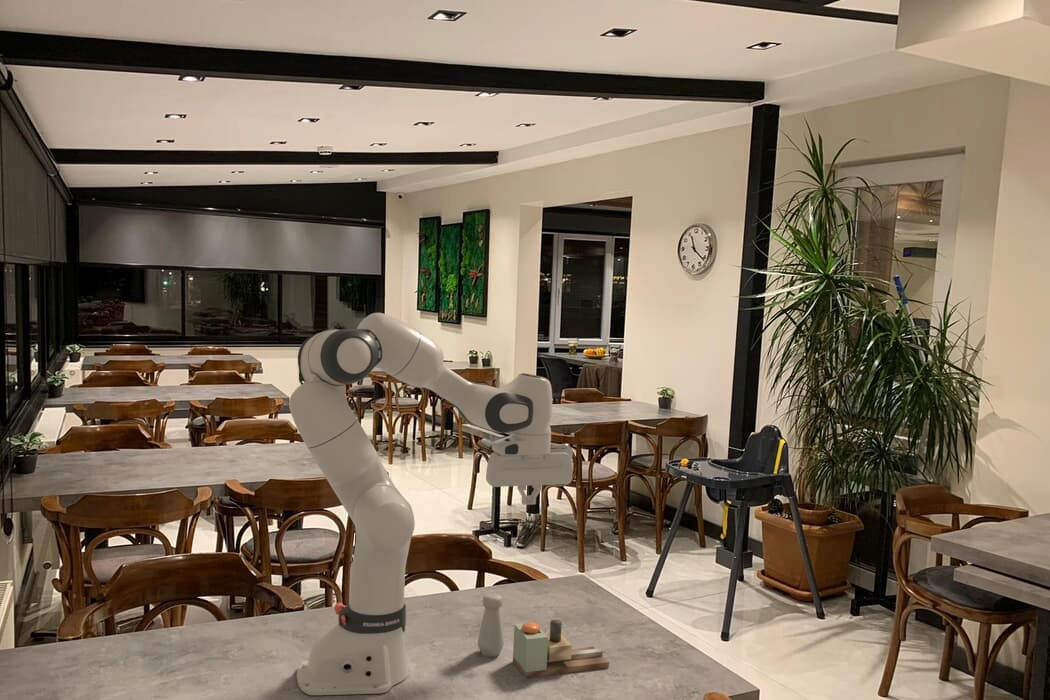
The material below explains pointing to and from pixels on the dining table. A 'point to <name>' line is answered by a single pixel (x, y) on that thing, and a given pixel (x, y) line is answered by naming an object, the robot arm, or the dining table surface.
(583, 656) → the rail bed
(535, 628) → the button
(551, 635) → the carriage
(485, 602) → the salt shaker
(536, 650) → the end cabinet
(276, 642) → the dining table surface
